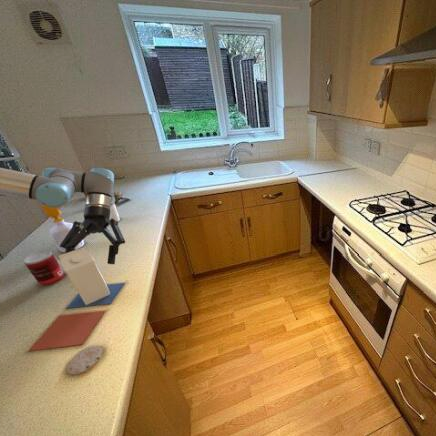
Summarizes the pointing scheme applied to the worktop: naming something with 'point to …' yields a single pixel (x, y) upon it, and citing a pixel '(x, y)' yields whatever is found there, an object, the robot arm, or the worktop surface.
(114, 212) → the white cup
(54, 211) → the soap bottle
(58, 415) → the worktop surface
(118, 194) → the artificial flower
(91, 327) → the terracotta mat
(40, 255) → the canned food
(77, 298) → the slate-blue mat
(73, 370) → the flatbread
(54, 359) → the worktop surface
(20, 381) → the worktop surface
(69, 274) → the milk carton
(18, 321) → the worktop surface
